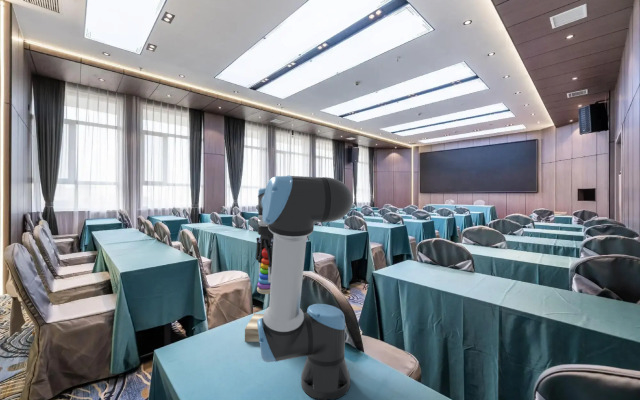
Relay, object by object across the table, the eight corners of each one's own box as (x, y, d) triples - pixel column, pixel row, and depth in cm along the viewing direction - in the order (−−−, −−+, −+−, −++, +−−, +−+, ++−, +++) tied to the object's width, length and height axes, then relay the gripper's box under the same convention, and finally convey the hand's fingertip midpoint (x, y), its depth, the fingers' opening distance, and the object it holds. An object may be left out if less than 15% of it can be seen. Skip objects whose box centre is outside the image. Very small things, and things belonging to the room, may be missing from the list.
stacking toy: (265, 296, 110) (266, 249, 110) (252, 291, 115) (253, 247, 115) (279, 291, 117) (280, 246, 116) (267, 287, 121) (267, 244, 121)
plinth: (279, 342, 109) (280, 329, 109) (244, 341, 109) (244, 328, 109) (285, 325, 123) (285, 314, 123) (253, 324, 123) (254, 313, 123)
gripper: (247, 223, 120) (247, 276, 121) (272, 227, 105) (271, 287, 106) (262, 222, 125) (262, 272, 126) (288, 226, 110) (287, 283, 111)
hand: (266, 279), depth 116 cm, fingers closed on stacking toy, 7 cm apart
